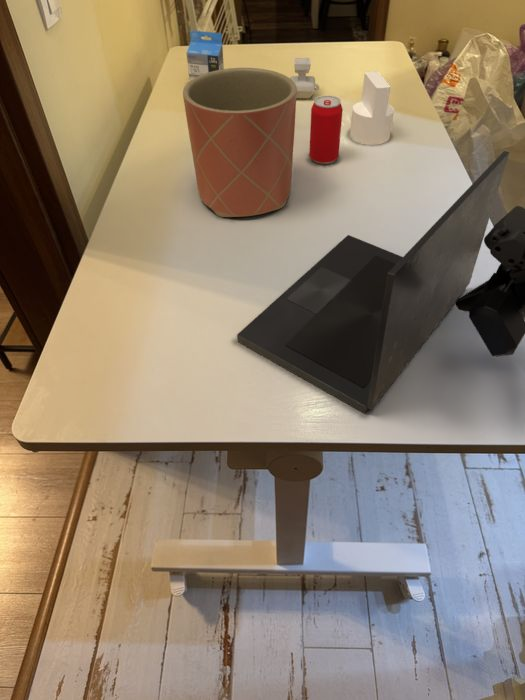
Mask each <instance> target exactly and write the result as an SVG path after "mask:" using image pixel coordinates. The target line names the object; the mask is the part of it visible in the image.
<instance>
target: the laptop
mask: <svg viewBox="0 0 525 700" xmlns="http://www.w3.org/2000/svg"><path fill="white" fill-rule="evenodd" d="M403 257H404V256H402V255H400V254H396V253H394V252H391V251H390V250H387V249H384V248H382V247H379V246H377V245H374V244H372V243H369V242H367V241H364V240H362V239H360V238H358V237H355V236H352V235H350V234H347V235H346V236H345V237H344V238H343V239H342V240H341V241H340V242H339V243H337V244H336V245H335V246H333V248H332V249H331V250H330V251H328V252H327V253H326V254H325V255H324V256H323V257H322V258H321V259H319V260H318V261H317V262H316V263H315V264H314V265H313V266H311V267H310V268H309V269H308V270H307V271H306V272H305V273H304V274H303V275H301V277H299V278H298V279H297V280H296V281H295V282H294V283H293V284H291V285H290V287H288V288H287V289H286V290H285V291H284V292H283V293H282V294H280V295H279V296H278V297H277V298H276V299H274V301H273V302H271V304H269V305H268V306H266V308H264V310H262V312H261V313H259V314H258V315H257V316H256V317H255V318H253V320H251V322H249V323H248V324H247V325H246V326H245V327H244V328H242V330H241V331H239V332H238V333H237V334H236V337H237V338H236V340H237V343H239V344H241V345H242V346H244V347H246V348H248V349H250V350H251V351H253V352H255V353H257V354H258V355H260V356H262V357H264V358H266V359H267V360H269V361H271V362H273V363H274V364H276V365H277V366H279V367H282V368H283V369H285V370H286V371H289V372H290V373H292V374H293V375H296V376H297V377H299V378H301V379H303V380H305V381H307V383H309V384H311V385H313V386H314V387H316V388H318V389H320V390H322V391H324V392H325V393H327V394H328V395H330V396H333V397H334V398H336V399H338V400H339V401H342V402H343V403H344V404H347V405H349V406H350V407H351V408H354V409H356V410H357V411H359V412H361V413H362V414H366V412H367V411H368V410H369V408H367V404H368V397H369V391H370V385H371V378H372V372H373V365H374V359H375V353H376V346H377V340H378V334H379V327H380V321H381V315H382V308H383V302H384V295H385V289H386V283H387V276H388V272H389V271H390V270H391V269H392V268H393V267H394V266H395V265H396V264H397V263H398V262H399V261H400V260H401V259H402V258H403Z"/></svg>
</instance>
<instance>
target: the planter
mask: <svg viewBox="0 0 525 700" xmlns="http://www.w3.org/2000/svg"><path fill="white" fill-rule="evenodd" d="M296 95H297V88H296V85H295V83H294V82H293V81H292V80H291V79H290V77H289V76H287V75H285V74H282V73H280V72H278V71H274V70H270V69H265V68H260V67H259V68H258V67H231V68H224V69H222V70H216V71H212V72H208V73H205V74H203V75H200V76H198V77H196V78H194V79H192V80H191V81H190V80H189V82H187V83H186V84H185V85H184V87H183V90H182V99H183V104H184V111H185V117H186V124H187V129H188V131H187V132H188V137H189V142H190V150H191V155H192V160H193V166H194V167H193V168H194V174H195V179H196V186H197V191H198V196H199V198H200V200H201V202H202V203H203V204H204V205H206V207H208V208H209V209H211V210H212V211H213V212H214V213H215V214H216V216H218V217H221V218H235V217H236V218H238V217H239V218H240V217H252V216H259V215H263V214H267V213H270V212H274V211H277V210H280V209H282V208H284V207H285V206H286V204H287V201H288V199H289V196H290V193H291V188H292V175H293V160H294V159H293V157H294V145H295V144H294V143H295V129H296V112H297V111H296V110H297V98H296Z"/></svg>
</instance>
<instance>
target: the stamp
mask: <svg viewBox="0 0 525 700" xmlns="http://www.w3.org/2000/svg"><path fill="white" fill-rule="evenodd" d="M310 70H311V57H294V73H295V74H297V75H290V77H289V78H290V79H291V80H292V81H293V82H294V83H295V85H296V88H297V95H296V99H310V98H311V97H312V95H313V94H314V93H315V92H316V91H318V90H320V85H319V84H318V83H316V77H315V76H313V75H307V74H309V73H310Z"/></svg>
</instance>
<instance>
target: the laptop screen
mask: <svg viewBox="0 0 525 700" xmlns="http://www.w3.org/2000/svg"><path fill="white" fill-rule="evenodd" d="M509 156H510V151H506V150H504V151H502V152H501V153H500V155H498V156H497V158H495V160H494V161H493V162H492V163H491V164H490V165H489V166H488V167H487V168H486V169H485V170H484V171H483V172H482V174H480V175H479V176H478V177H477V179H476V180H475V181H473V183H472V184H471V185H470V186H469V187H468V188H467V189H466V190H465V191H464V192H463V193H462V195H460V197H458V199H456V201H455V202H454V203H453V204H452V205H451V206H450V207H449V208H448V209H447V210H446V211H445V212H444V213H443V214H442V216H440V217H439V218H438V220H436V222H435V223H434V224H433V225H432V226H430V228H429V229H428V230H427V231H426V232H425V233H424V234H423V236H422V237H420V239H419V240H418V241H416V243H415V244H414V245H413V246H412V247H411V248H410V249H409V250H408V251H407V252H406V253H405V254H404V255H403V256H402V257H403V258H402V259H401V260H400V261H399V262H398V263H397V264H396V265H395V266H394V267H393V268H392V269H391V270H390V271H389V272H388V276H387V283H386V289H385V295H384V302H383V308H382V315H381V321H380V327H379V334H378V340H377V346H376V353H375V359H374V365H373V372H372V378H371V385H370V391H369V397H368V404H367V408H369V409H370V410H373V409H374V408H375V406H376V405H377V404H378V402H379V401H380V400H381V399H382V397H383V396H384V394H386V392H387V391H388V390H389V389H390V387H391V386H392V384H393V383H394V382H395V380H396V379H397V378H398V377H399V375H400V374H401V373H402V371H403V370H404V369H405V367H406V366H407V365H408V364H409V362H410V361H411V360H412V359H413V357H414V356H415V354H417V352H418V351H419V349H420V348H421V347H422V345H423V344H424V343H425V341H427V339H428V338H429V336H430V335H431V334H432V333H433V332H434V330H435V329H436V327H438V325H439V324H440V322H441V321H442V320H443V319H444V317H445V316H446V314H447V313H448V312H449V310H450V309H451V308H452V307H453V306H454V305H455V302H456V301H457V300H458V299H459V298H460V297H461V295H462V294H463V293H464V291H465V290H466V289H467V287H468V286H469V285H470V283H471V280H472V276H473V273H474V270H475V266H476V263H477V260H478V257H479V254H480V250H481V248H482V244H483V241H484V238H485V233H486V231H487V228H488V224H489V221H490V217H491V214H492V211H493V208H494V205H495V202H496V198H497V194H498V191H499V188H500V185H501V181H502V178H503V175H504V171H505V168H506V164H507V162H508V159H509ZM369 409H368V410H369Z"/></svg>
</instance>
